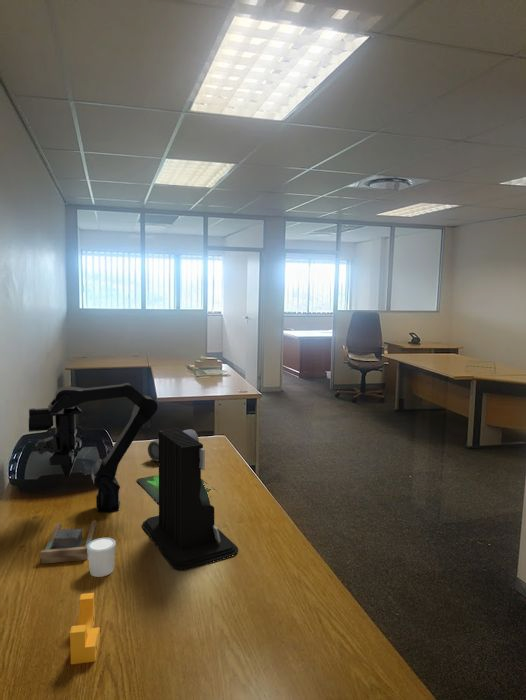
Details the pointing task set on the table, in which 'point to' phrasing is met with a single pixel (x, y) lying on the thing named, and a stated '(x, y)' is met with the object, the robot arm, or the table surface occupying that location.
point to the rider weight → (68, 538)
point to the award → (185, 506)
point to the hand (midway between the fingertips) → (66, 477)
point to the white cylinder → (101, 556)
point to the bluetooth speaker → (154, 445)
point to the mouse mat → (155, 486)
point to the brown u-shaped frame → (66, 549)
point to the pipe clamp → (85, 633)
